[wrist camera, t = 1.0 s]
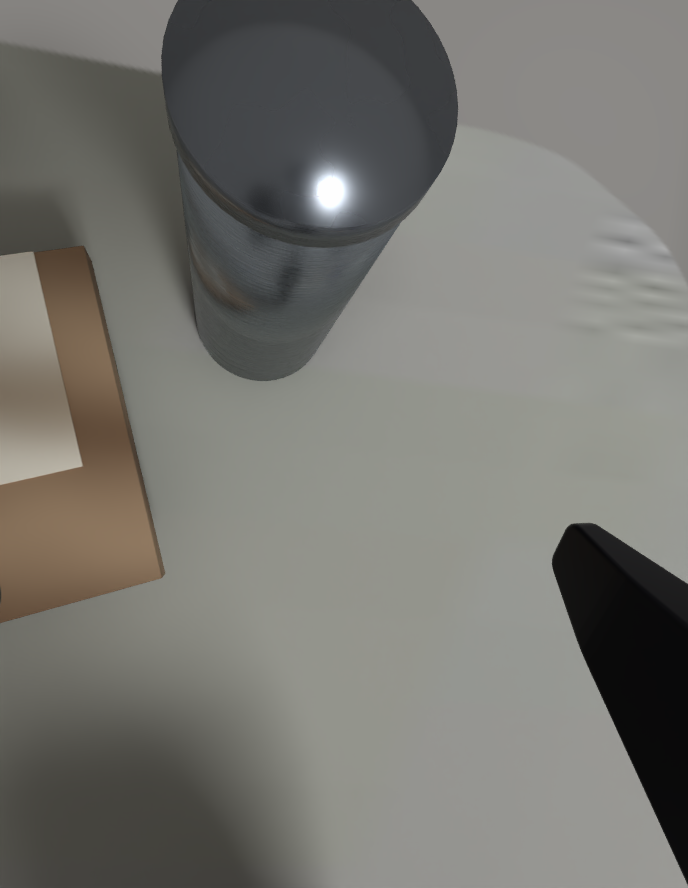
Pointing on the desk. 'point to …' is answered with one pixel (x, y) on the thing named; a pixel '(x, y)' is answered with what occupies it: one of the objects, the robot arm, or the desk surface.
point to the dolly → (64, 443)
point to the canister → (297, 159)
